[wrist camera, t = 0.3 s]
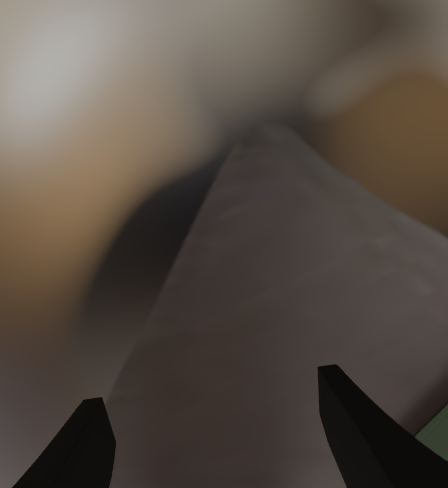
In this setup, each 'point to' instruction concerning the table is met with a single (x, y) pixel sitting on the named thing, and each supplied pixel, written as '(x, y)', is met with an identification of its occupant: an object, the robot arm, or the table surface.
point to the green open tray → (436, 434)
